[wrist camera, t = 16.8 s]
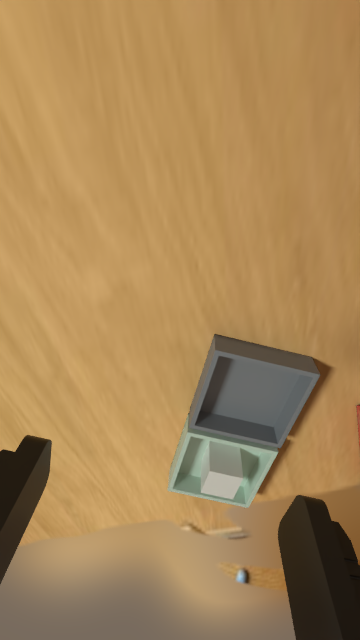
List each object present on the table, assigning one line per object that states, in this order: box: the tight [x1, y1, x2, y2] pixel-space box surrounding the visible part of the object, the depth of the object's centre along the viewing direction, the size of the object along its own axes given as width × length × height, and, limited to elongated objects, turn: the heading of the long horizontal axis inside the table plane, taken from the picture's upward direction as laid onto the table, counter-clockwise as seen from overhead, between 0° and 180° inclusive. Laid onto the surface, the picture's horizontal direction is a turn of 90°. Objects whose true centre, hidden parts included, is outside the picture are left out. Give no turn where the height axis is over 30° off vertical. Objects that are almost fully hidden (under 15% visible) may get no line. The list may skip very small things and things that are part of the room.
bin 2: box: [168, 413, 278, 508], centre depth 48 cm, size 12×12×4 cm
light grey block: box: [201, 441, 243, 499], centre depth 47 cm, size 4×4×5 cm
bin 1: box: [189, 334, 320, 448], centre depth 42 cm, size 12×12×4 cm
